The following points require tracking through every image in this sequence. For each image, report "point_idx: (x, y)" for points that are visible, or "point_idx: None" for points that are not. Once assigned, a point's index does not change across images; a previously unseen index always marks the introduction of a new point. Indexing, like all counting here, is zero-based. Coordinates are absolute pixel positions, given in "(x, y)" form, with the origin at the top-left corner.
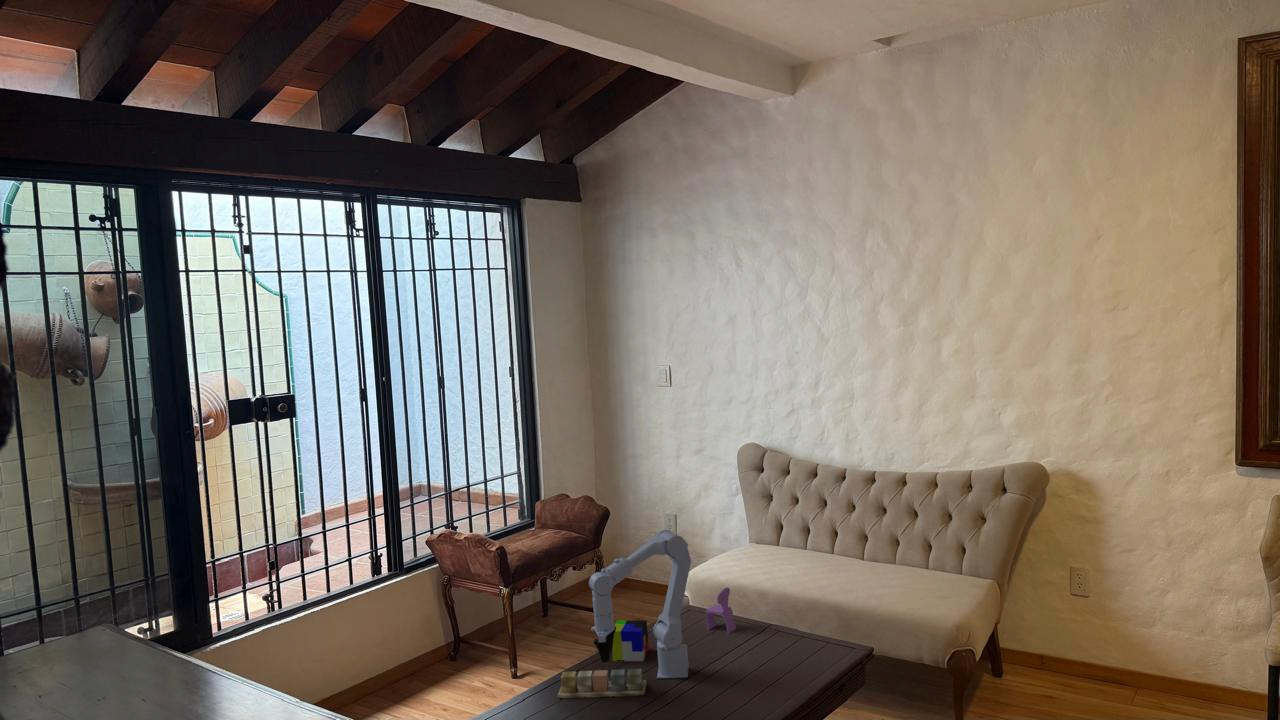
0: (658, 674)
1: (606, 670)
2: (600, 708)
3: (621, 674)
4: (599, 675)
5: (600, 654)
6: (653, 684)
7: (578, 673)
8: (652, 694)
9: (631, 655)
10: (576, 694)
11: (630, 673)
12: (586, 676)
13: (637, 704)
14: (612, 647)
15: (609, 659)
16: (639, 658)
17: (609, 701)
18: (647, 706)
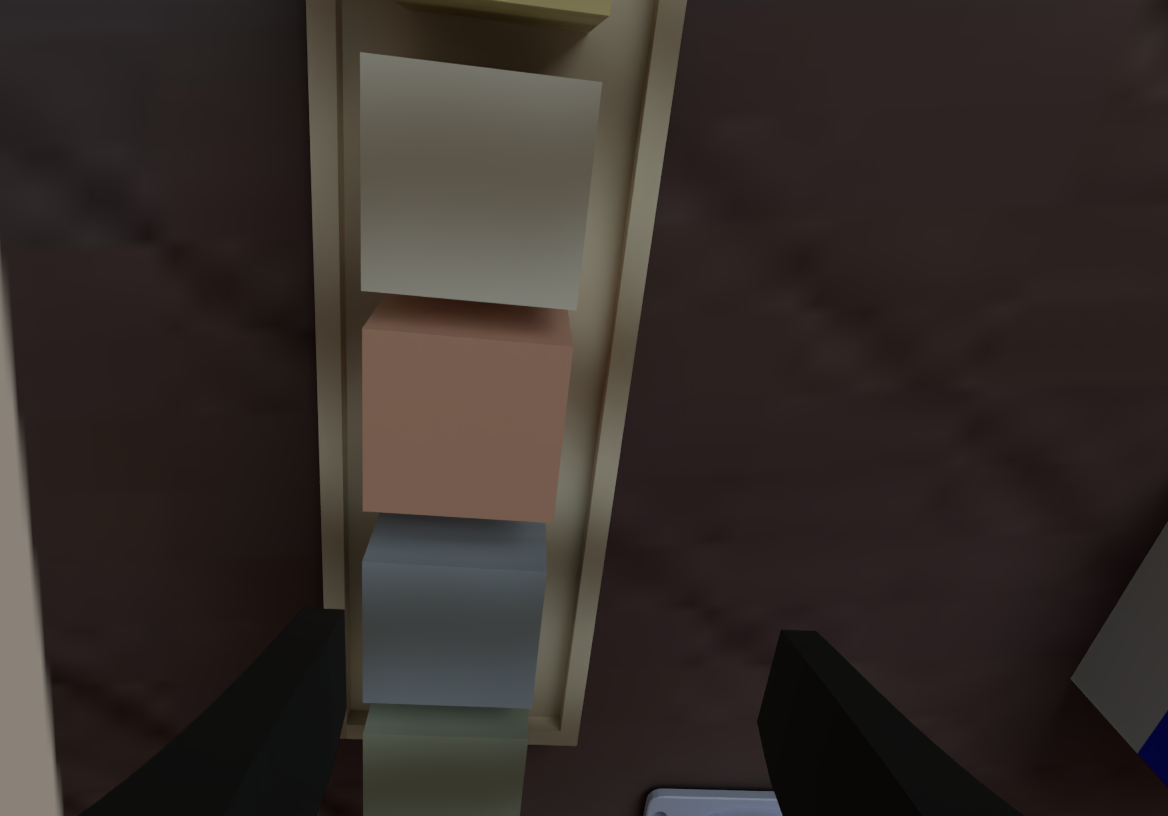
0: (705, 805)
1: (542, 508)
2: (34, 344)
3: (375, 682)
4: (376, 424)
5: (199, 725)
6: (552, 761)
7: (506, 70)
8: (352, 759)
9: (1164, 635)
10: (307, 32)
11: (397, 764)
12: (362, 224)
13: (149, 664)
14: (780, 801)
15: (338, 737)
16: (1102, 675)
17: (215, 429)
18: (112, 733)
